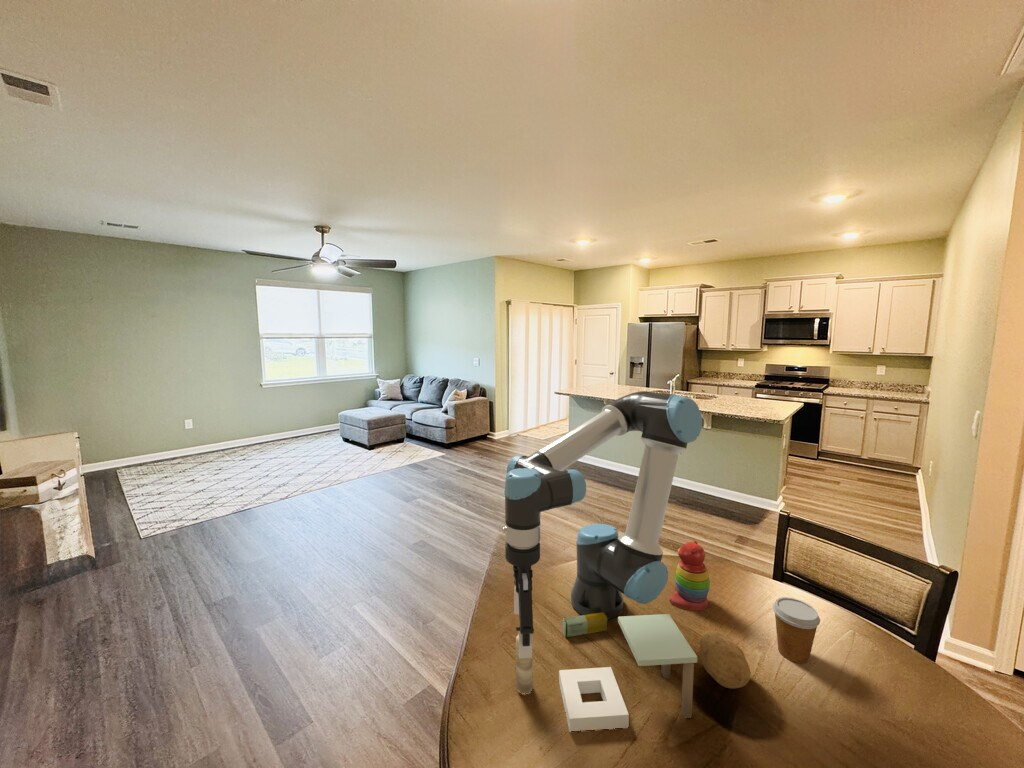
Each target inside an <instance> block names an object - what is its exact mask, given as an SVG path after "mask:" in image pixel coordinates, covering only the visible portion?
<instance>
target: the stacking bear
mask: <svg viewBox="0 0 1024 768" xmlns="http://www.w3.org/2000/svg"><path fill="white" fill-rule="evenodd" d="M676 551H677V555H678V557H679V561H678V564H677V567H676V570H675V576H674V578H675V580H674V581H675V587H674V591H675V592H674V593H672V594H671V595H670V596H669V600H668V601H669V603H670V605H673V606H675V607H677V608H679V609H684V610H689V611H702V610H703V611H704V610H706V609H707V607H708V606H709V600H708V594H709V592H710V585H711V581H710V577H709V574H710V573H709V571H708V568H707V566H706V565H705V563H704V561H705V558H706V552H705V550H704V548H703V547H702V546H701V545H700V544H699V543H698V542H697V540H695V539H694V540H693V542H692V541H691V542H689V541H688V542H686V543H684V544H683V545H682V546H681V547H679V548H678V549H677V550H676Z"/></svg>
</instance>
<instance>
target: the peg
mask: <svg viewBox="0 0 1024 768" xmlns="http://www.w3.org/2000/svg"><path fill="white" fill-rule="evenodd" d="M515 660H516V661H515V669H516V670H515V671H516V673H515V675H516V679H515V680H516V690H517V689H518V690H519V691H520V692H521V693H525V694H526V693H529V692H531V691H532V692H533V690H532V689H533V682H534V681H533V680H534V679H533V657H532V658H519V634H517V635H516V637H515ZM532 692H531V693H532Z"/></svg>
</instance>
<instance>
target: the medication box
mask: <svg viewBox="0 0 1024 768" xmlns="http://www.w3.org/2000/svg"><path fill="white" fill-rule="evenodd" d="M561 631H562V634H563V636H564V637H565V638H569V637H574V636H575V637H576V636H581V635H586V634H592V633H597V632H605V631H608V619H607V617H606V615H605V613H604V612H601V613H595V614H588V615H575V616H571V617H564V618H563V617H562V630H561Z"/></svg>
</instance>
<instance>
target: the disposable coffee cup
mask: <svg viewBox="0 0 1024 768" xmlns="http://www.w3.org/2000/svg"><path fill="white" fill-rule="evenodd" d="M772 610H773V612H774V617H775V618H774V619H775V629H776V630H775V631H776V639H777V650H778V652H779V654H780V655H781V656H782V657H784V658H785V659H787V660H788V661H790V662H792V663H793V662H794V663H797V664H805V663H808V662H809V660H810V656H811V653H812V648H813V644H814V641H815V637H816V632H817V629H818V626H819V625H820V624H821V618H820V617H819V613H818V611H817V610H816V609H815V607H813V606H812V605H811V604H809V603H807V602H806V601H803V600H800V599H797V598H793V597H789V596H788V597H786V596H785V597H783V596H781V597H778V598H777V599H776V600H775V602H774V603H773V604H772Z"/></svg>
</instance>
